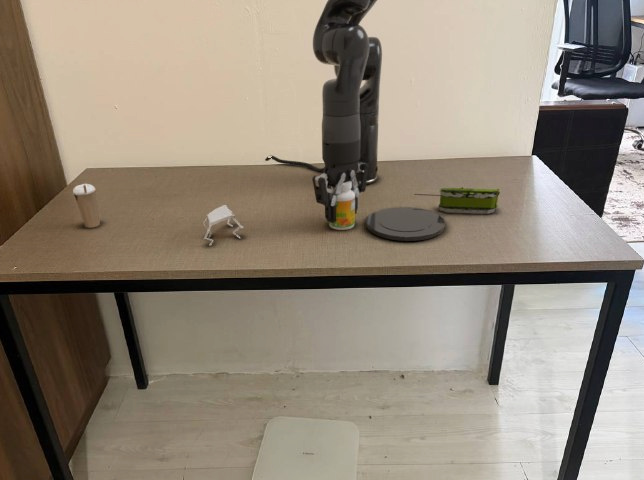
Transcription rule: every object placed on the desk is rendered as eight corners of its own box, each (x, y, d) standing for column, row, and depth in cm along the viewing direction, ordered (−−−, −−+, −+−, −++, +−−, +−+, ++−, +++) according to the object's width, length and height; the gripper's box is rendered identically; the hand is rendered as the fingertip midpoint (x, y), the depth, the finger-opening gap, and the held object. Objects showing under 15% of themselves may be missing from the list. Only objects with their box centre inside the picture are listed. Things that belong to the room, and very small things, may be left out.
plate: (369, 243, 112) (369, 237, 112) (363, 213, 126) (364, 207, 125) (451, 241, 112) (452, 235, 111) (436, 211, 125) (437, 205, 125)
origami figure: (244, 244, 114) (242, 221, 111) (202, 247, 113) (199, 224, 111) (245, 221, 124) (243, 200, 121) (207, 224, 124) (204, 202, 121)
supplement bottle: (325, 228, 119) (324, 184, 114) (334, 219, 123) (333, 175, 118) (350, 232, 117) (350, 186, 112) (357, 222, 122) (358, 178, 117)
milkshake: (84, 232, 122) (72, 187, 117) (80, 223, 126) (69, 180, 121) (105, 227, 124) (95, 183, 119) (101, 219, 128) (91, 176, 123)
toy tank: (502, 195, 117) (499, 171, 124) (409, 192, 121) (412, 169, 128) (497, 224, 122) (495, 198, 129) (408, 220, 126) (411, 196, 133)
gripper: (353, 126, 117) (352, 204, 126) (300, 140, 109) (304, 222, 118) (380, 132, 112) (378, 212, 121) (327, 147, 104) (329, 232, 113)
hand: (341, 217), depth 119 cm, fingers open, 5 cm apart
